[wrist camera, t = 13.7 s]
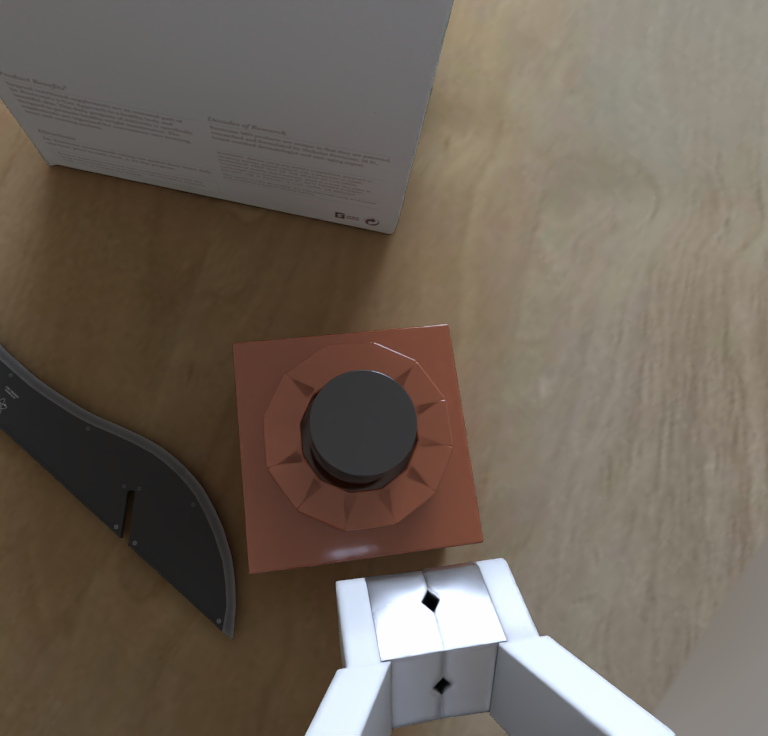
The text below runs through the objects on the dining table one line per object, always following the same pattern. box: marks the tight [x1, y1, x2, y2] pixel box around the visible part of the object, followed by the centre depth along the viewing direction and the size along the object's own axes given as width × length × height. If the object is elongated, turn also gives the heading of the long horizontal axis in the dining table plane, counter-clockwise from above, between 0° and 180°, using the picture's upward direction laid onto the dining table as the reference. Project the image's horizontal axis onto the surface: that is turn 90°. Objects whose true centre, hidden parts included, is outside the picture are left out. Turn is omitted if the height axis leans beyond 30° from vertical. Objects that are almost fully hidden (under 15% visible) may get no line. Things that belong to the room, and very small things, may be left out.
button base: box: [233, 324, 483, 574], centre depth 24 cm, size 8×8×8 cm
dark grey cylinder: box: [309, 370, 417, 483], centre depth 20 cm, size 3×3×2 cm
